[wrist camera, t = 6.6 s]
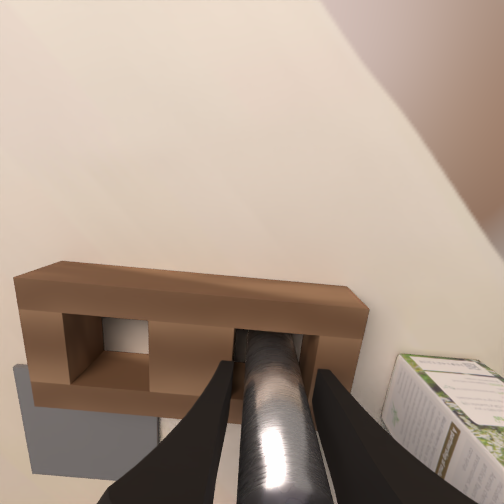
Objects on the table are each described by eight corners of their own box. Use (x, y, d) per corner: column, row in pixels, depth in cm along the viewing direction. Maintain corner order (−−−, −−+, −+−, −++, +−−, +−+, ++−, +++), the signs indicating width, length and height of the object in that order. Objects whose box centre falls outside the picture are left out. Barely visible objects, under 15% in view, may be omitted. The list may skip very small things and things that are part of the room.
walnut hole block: (326, 390, 17) (341, 432, 14) (73, 369, 16) (34, 406, 14) (347, 286, 15) (369, 309, 12) (61, 260, 15) (13, 277, 12)
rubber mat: (159, 479, 19) (157, 483, 19) (35, 469, 19) (32, 473, 19) (158, 376, 17) (156, 379, 16) (17, 364, 16) (12, 367, 16)
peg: (282, 362, 16) (315, 561, 7) (241, 351, 16) (223, 540, 7) (297, 325, 15) (352, 496, 7) (254, 313, 15) (252, 472, 7)
